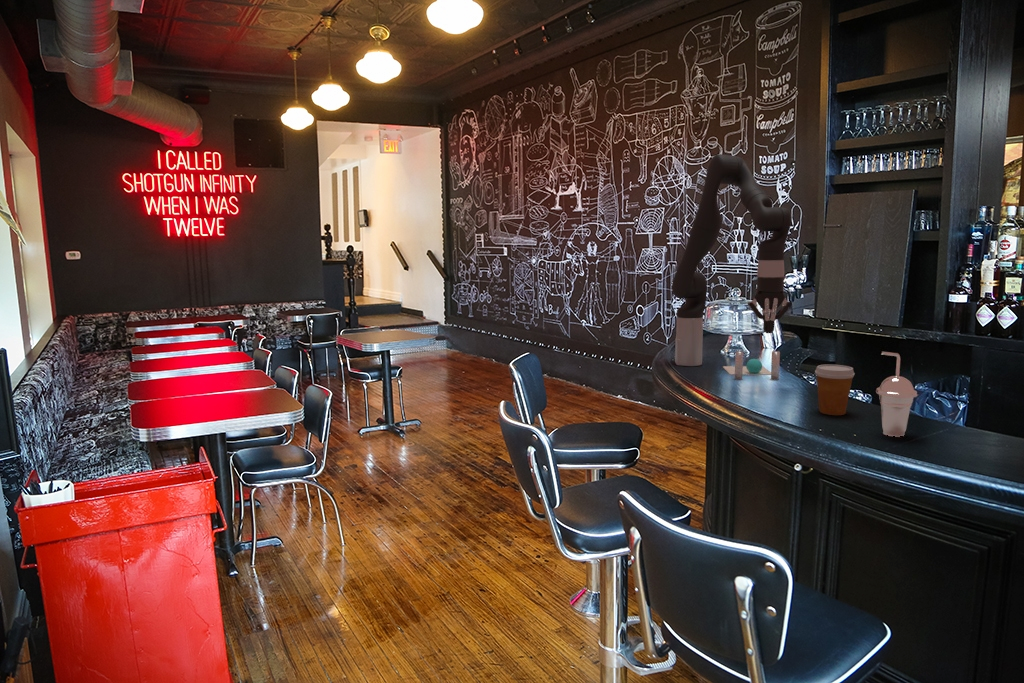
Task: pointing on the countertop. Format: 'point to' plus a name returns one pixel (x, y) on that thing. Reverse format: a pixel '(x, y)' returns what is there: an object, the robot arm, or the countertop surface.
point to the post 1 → (738, 365)
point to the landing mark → (746, 371)
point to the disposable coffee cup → (833, 388)
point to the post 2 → (775, 365)
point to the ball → (754, 366)
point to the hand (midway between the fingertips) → (768, 332)
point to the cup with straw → (895, 401)
